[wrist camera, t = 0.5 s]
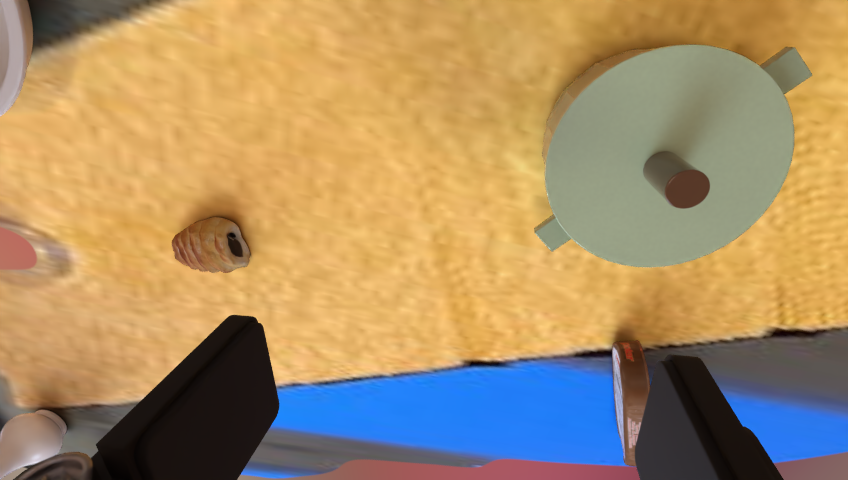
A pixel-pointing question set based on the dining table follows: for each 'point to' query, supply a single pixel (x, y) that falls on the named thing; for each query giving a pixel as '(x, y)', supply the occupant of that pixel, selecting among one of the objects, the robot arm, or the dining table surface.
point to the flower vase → (30, 440)
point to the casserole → (781, 66)
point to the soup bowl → (14, 49)
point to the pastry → (211, 246)
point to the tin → (629, 393)
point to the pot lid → (669, 155)
